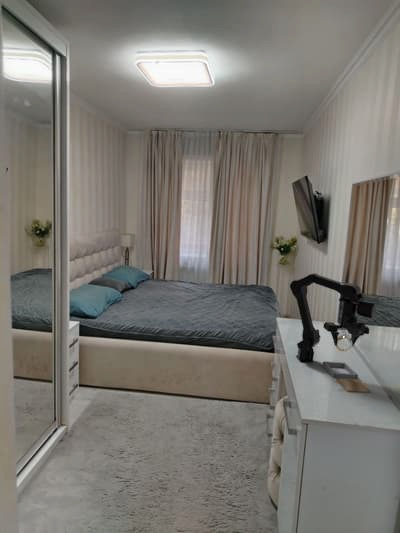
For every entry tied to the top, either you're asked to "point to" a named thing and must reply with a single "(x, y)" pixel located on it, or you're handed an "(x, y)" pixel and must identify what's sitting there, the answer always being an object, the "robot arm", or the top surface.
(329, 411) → the top surface
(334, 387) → the top surface
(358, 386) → the pad
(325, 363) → the bin
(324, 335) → the top surface
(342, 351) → the ring
